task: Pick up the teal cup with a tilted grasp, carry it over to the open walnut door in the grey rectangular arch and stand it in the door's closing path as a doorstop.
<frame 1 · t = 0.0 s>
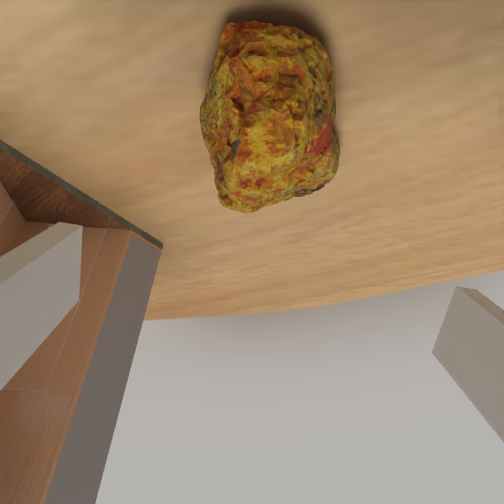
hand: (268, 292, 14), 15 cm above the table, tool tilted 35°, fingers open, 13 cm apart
rock: (268, 101, 26), on the table
cabinet: (35, 201, 36), on the table
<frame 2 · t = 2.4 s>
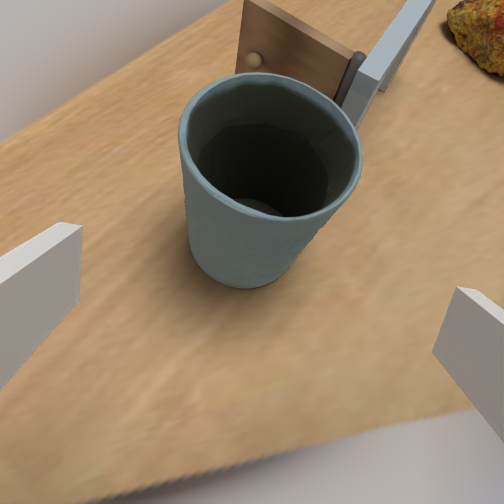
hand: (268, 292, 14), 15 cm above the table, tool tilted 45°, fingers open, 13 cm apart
rock: (488, 51, 48), on the table
teal cup: (246, 240, 33), on the table
door: (287, 79, 34), point 5 cm above the table, hinge at 85.0°
grey rectangular arch: (357, 120, 40), on the table
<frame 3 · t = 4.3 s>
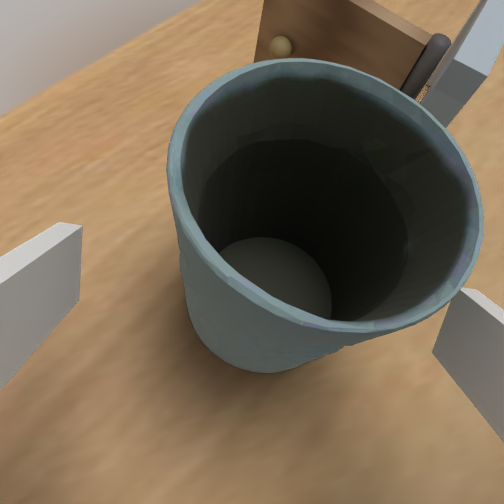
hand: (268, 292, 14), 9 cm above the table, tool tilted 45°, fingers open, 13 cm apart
teal cup: (266, 298, 23), on the table
door: (327, 73, 25), point 5 cm above the table, hinge at 85.0°
grey rectangular arch: (410, 130, 31), on the table
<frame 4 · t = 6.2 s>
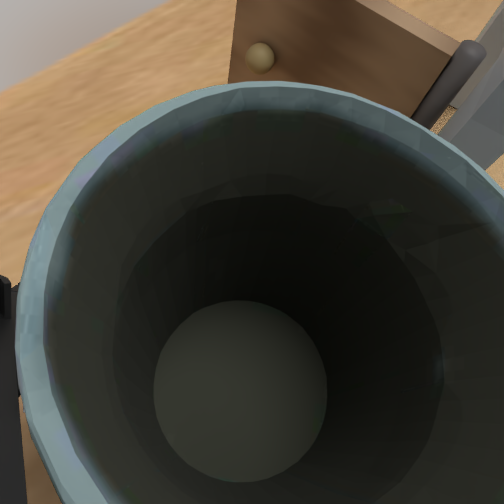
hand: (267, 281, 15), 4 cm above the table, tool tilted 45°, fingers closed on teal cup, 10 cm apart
teal cup: (242, 384, 18), on the table, touching gripper
door: (319, 90, 19), point 5 cm above the table, hinge at 85.0°
grey rectangular arch: (421, 155, 25), on the table
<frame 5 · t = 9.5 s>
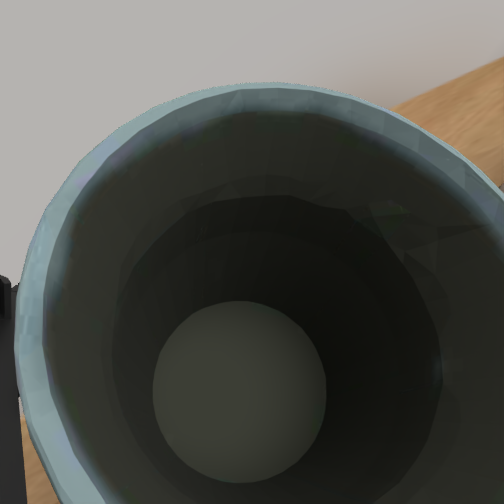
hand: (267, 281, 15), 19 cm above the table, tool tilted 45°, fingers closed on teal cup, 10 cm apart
teal cup: (241, 384, 18), point 14 cm above the table, touching gripper
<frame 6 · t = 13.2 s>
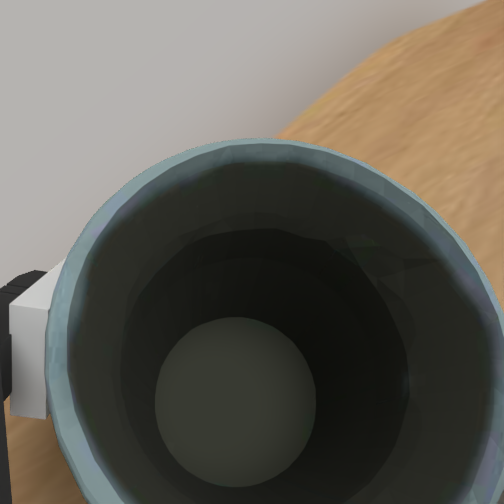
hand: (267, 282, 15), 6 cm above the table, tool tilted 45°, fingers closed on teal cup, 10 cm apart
teal cup: (237, 395, 19), on the table, touching gripper
when the fingers open (7 cm above the table, at t = 13.5 s): teal cup stays where it is, on the table.
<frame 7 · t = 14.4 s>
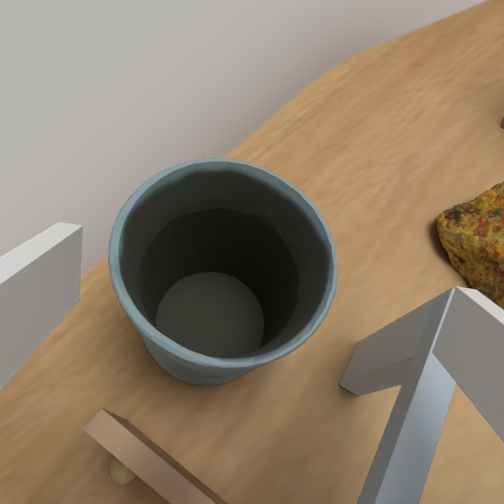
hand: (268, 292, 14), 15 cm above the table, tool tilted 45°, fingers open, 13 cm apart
rock: (493, 266, 35), on the table
teal cup: (210, 323, 29), on the table
grey rectangular arch: (313, 468, 26), on the table
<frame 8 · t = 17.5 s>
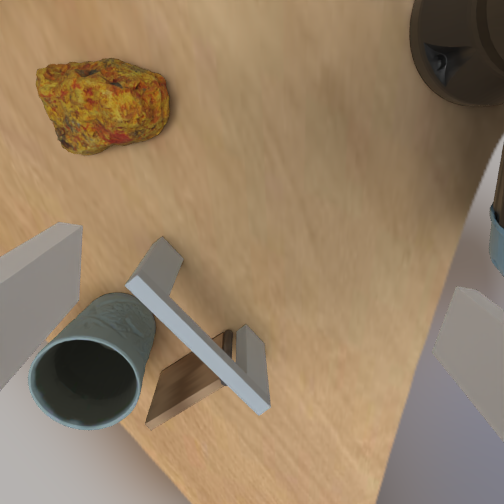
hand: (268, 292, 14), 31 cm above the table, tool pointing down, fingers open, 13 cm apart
rock: (115, 103, 41), on the table
teal cup: (121, 321, 49), on the table
door: (196, 380, 46), point 5 cm above the table, hinge at 85.0°
grey rectangular arch: (211, 296, 48), on the table
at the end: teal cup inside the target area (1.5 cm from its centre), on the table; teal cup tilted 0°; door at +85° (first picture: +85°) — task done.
